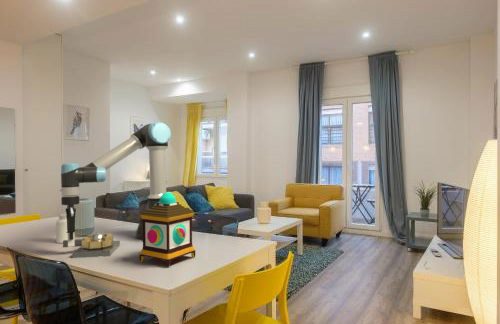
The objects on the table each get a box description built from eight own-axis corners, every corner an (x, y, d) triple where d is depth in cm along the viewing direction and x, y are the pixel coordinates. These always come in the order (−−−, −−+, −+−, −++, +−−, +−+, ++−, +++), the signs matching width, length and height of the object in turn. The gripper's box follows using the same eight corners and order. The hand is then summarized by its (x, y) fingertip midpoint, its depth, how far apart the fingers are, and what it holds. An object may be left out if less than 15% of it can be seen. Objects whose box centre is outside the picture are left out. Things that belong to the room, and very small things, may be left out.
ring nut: (114, 240, 172) (114, 232, 172) (110, 247, 159) (110, 237, 159) (67, 243, 166) (67, 234, 166) (59, 250, 153) (59, 241, 153)
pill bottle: (65, 243, 179) (65, 215, 179) (52, 243, 181) (52, 215, 181) (76, 240, 187) (75, 213, 187) (63, 239, 188) (63, 212, 188)
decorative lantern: (167, 251, 163) (167, 189, 163) (200, 257, 153) (199, 191, 152) (134, 262, 145) (134, 192, 145) (168, 269, 135) (167, 195, 135)
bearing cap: (119, 245, 175) (119, 229, 175) (109, 256, 155) (109, 237, 155) (87, 246, 172) (87, 230, 172) (72, 257, 152) (72, 239, 152)
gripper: (60, 195, 162) (60, 244, 162) (62, 197, 151) (63, 250, 151) (77, 194, 166) (78, 242, 166) (81, 196, 155) (82, 247, 155)
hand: (71, 246), depth 159 cm, fingers closed
